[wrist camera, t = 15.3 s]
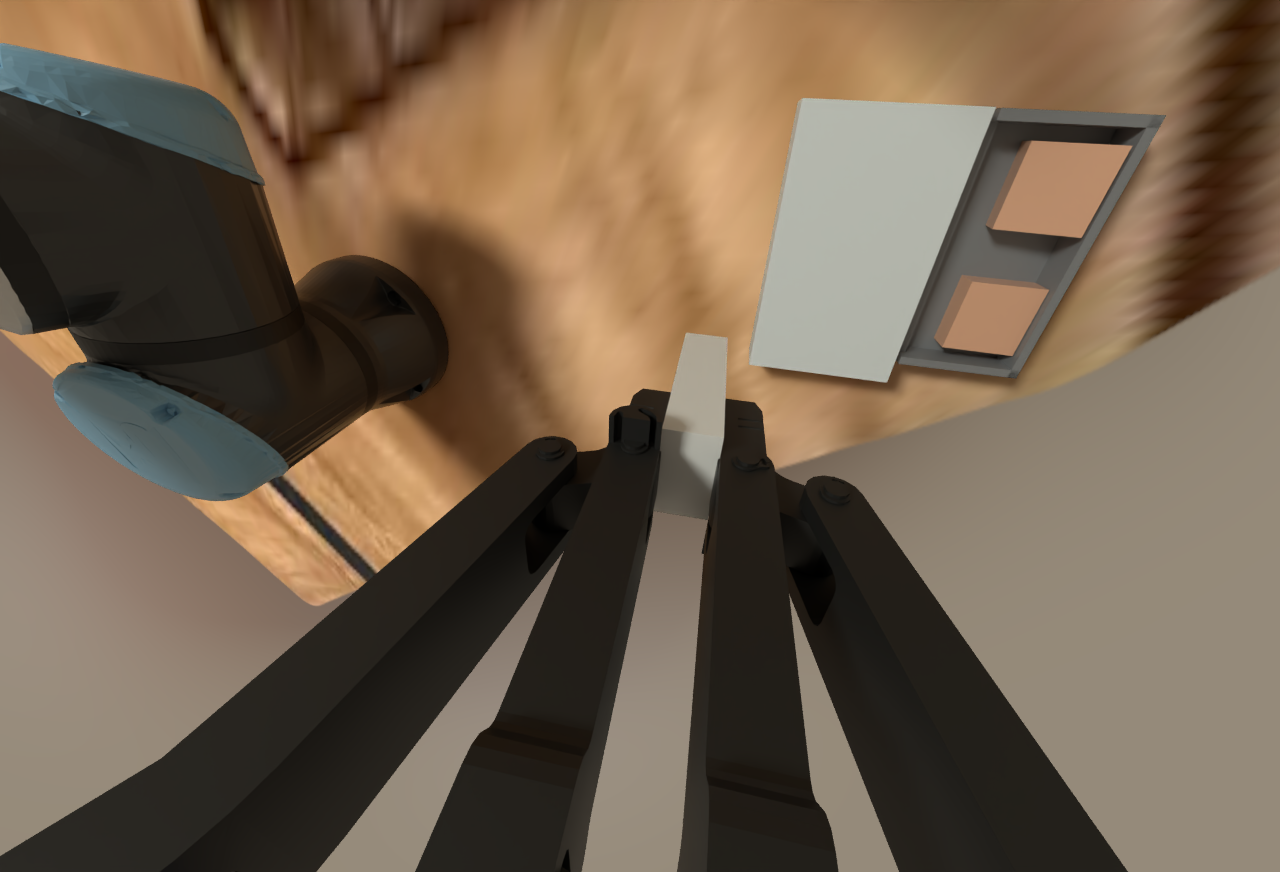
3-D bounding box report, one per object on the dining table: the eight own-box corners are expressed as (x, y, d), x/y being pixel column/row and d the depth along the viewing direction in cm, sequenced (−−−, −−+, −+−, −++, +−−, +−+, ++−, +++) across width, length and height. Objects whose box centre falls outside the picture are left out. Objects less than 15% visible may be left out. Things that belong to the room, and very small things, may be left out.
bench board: (749, 348, 41) (748, 364, 38) (797, 102, 31) (802, 98, 28) (877, 364, 39) (886, 382, 36) (972, 110, 29) (996, 106, 26)
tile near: (1081, 238, 29) (1069, 233, 31) (1132, 145, 26) (1116, 145, 28) (992, 229, 30) (985, 225, 32) (1031, 140, 28) (1022, 141, 29)
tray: (889, 349, 38) (898, 363, 36) (980, 110, 29) (1001, 107, 27) (998, 362, 37) (1015, 378, 35) (1129, 117, 28) (1166, 115, 25)
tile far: (1012, 356, 34) (1000, 346, 36) (1049, 289, 32) (1034, 282, 33) (942, 347, 35) (933, 337, 37) (972, 281, 32) (961, 274, 34)
